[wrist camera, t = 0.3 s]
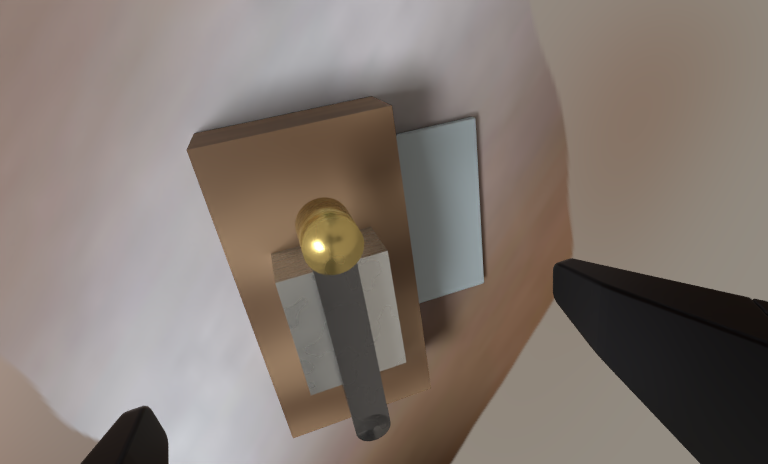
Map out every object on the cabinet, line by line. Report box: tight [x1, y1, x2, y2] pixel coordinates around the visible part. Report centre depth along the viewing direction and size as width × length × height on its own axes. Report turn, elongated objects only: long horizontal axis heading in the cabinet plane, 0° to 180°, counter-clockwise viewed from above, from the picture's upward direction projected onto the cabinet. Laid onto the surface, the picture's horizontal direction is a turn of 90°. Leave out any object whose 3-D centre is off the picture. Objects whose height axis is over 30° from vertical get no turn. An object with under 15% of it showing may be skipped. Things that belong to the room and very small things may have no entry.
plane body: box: [187, 96, 431, 438], centre depth 22 cm, size 16×8×3 cm, turn 9°
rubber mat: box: [396, 117, 484, 303], centre depth 23 cm, size 10×5×1 cm, turn 9°
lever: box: [295, 197, 390, 441], centre depth 18 cm, size 12×2×5 cm, turn 9°
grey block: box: [271, 226, 406, 395], centre depth 19 cm, size 6×4×2 cm
